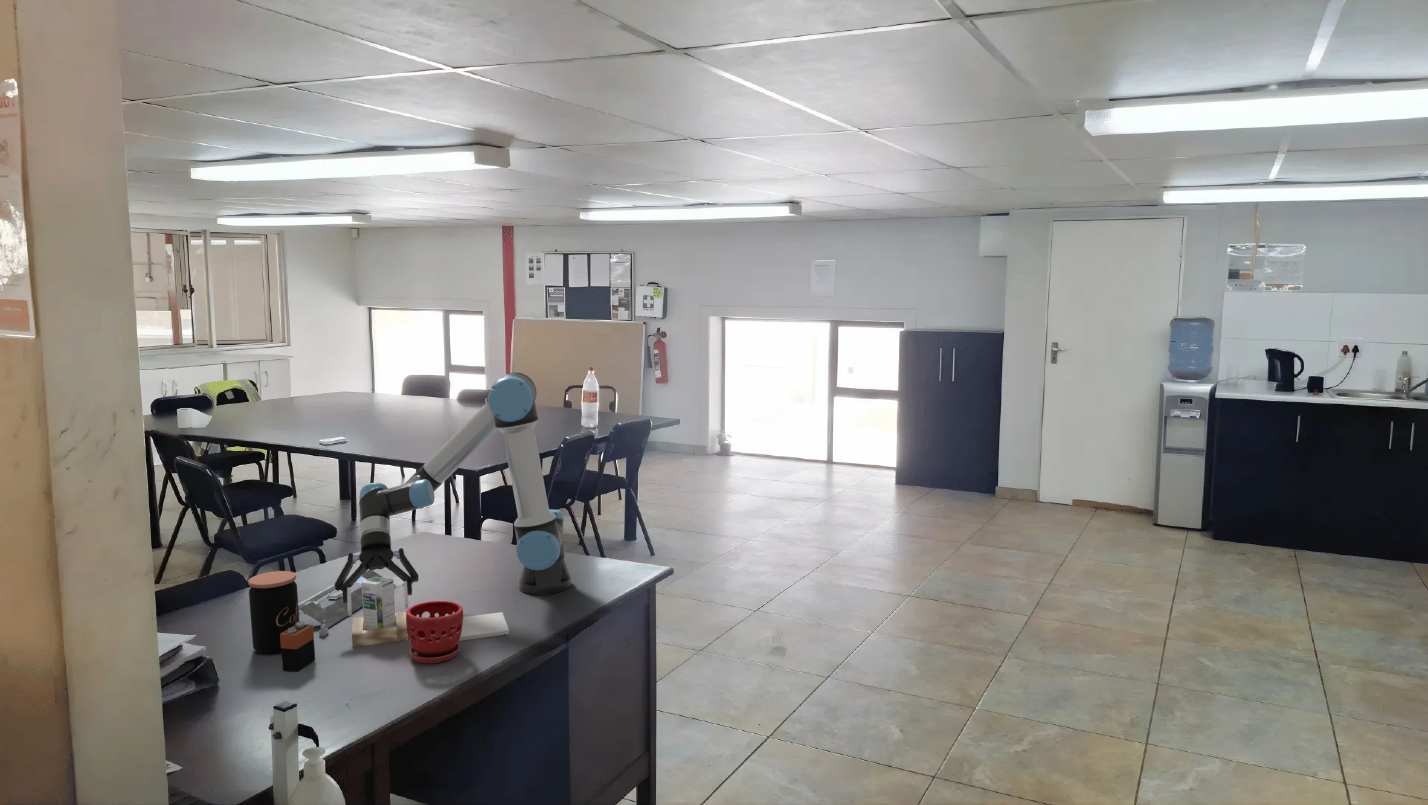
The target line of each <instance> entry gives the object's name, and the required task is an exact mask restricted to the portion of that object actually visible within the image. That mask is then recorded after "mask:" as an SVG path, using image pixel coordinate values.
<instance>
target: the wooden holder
mask: <svg viewBox="0 0 1428 805" xmlns="http://www.w3.org/2000/svg"><path fill="white" fill-rule="evenodd" d="M406 612H407V610H406V611H399V612H398V611H397V612H396V611H395V622H396V626H395V627H387V628H379V629H372V630H364V618H363V616H357V617H353V618H352V629H351V643H352V645H351V646H352V648H356V647H357V648H358V647H364V646H371V645H379V644H380V645H381V644H384V643H385V644H387V643H395V642H401V641H400V640H402V641H407V640H406V639H408V640H409V638H408V634H407V626H406ZM386 642H387V643H386Z"/></svg>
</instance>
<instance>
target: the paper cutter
mask: <svg viewBox="0 0 1428 805" xmlns="http://www.w3.org/2000/svg"><path fill="white" fill-rule="evenodd" d="M376 576H377V577H384V578H393V580H394V587H403V586H404V581H403V580H401V579H400V578H399V577H398V576H396V577H395V576H394V577H393V576H382V575H380V574H379V573H377V572H375V570H370V569H368V570H367V571H366V572H365V573H363V574H362V575H361V577H360V578H359V579H358V580H357V581H356V582H357V583H360V584H359V585H362V582H363V581H365V580H367V579H369V578H372V577H376ZM347 579H348V577H347V578H346V580H347ZM346 580H345V581H344V583H345V582H346ZM344 583H343V584H344ZM334 590H336V589H335V583H334V584H331V585H330V586H327V587H326V588H325V589H323V590H321V591H319V592H318V593H316V594H313V595H311V596H310V597H308V598H306V599H305V600H303V601H301V602H298V607H299V610H301V611H303V612H302V613H304V614H305V615H307V616H308V617H310V618H311V619H314V620H315V621H316V622H318V623H319V624H321V625H320V629H319V630H318V634H319V635H318V637H322V636H323V637H325V636H326V634H327V633H328V634H329V628H330V627H332V626H333V625H335V624H336V623H338V622H339V621H341V620H342V619H344V618H346V617H347V616H348V604H347V603H344V602H343V597H342V598H340V597H341V596H342V595H343V592H342V591H335V592H333V593H331V592H332V591H334ZM328 593H331V594H330V595H328V598H336V599H337V598H340V599H338V600H335V601H334V602H333V603H331V604H329V605H328V606H326V607H325V608H323V607H321V602H314V601H317V600H318V599H320V598H322V597H323V596H325V595H327V594H328ZM328 598H327V599H328ZM361 607H362V608H363V600H362V586H360V587H358V588H357V589H355V590H354V591H351V613H352V614H353V613H354V612H355V611H357V610H358V609H360V608H361ZM348 617H349V616H348ZM328 634H327V635H328Z"/></svg>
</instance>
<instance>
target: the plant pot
mask: <svg viewBox="0 0 1428 805" xmlns="http://www.w3.org/2000/svg"><path fill="white" fill-rule="evenodd" d="M424 613H428V614H429V617H423V614H424ZM436 614H438V616H436ZM463 617H464V608H463V606H462V605H461V604H460V603H457V602H454V601H449V600H448V601H447V600H434V601H433V600H432V601H425V602H420V603H417V604H414V605H412V606H410V607H408V609H407V610H406V626H407V634H408V641H409V643H410V645H411V647H410V649H409V650H408V654H409V656H410V658H411V659H413V660H414V661H415V662H418V663H423V664H437V663H442V662H445V661H448V660H451V659H453V658H454V657H455V656H456V655H457V654H458V653H459V651H460V648H461V647H460V645H459V642H460V641H459V639H460V636H461V632H462V626H463Z"/></svg>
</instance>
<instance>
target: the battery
mask: <svg viewBox="0 0 1428 805" xmlns="http://www.w3.org/2000/svg"><path fill="white" fill-rule="evenodd" d="M314 636H315V634H314V625H312V624H309V623H308V624H306V620H305V621H303V620H301V621H300V620H299V622H297V623H296V625H295V626H293V627H291V628H289V629H288V630H286V631H284V632H283V633H281V634H280V642H281V654H280V655H281V667H282V668H281V669H282V671H283V672H284V671H285V672H294V673H298V672H301V670H304V668H306V667H308V666H309V665H311V664H312V663H314V662H315V661H316V653H315V652H316V650H315V648H316V647H315V637H314Z"/></svg>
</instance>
